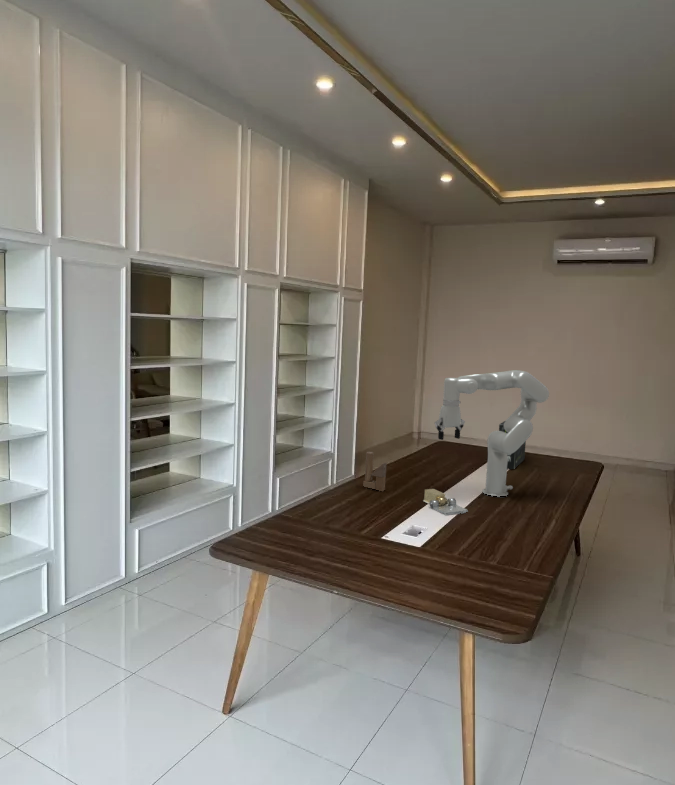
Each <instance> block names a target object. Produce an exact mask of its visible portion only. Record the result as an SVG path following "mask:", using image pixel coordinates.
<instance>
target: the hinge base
mask: <svg viewBox="0 0 675 785" xmlns="http://www.w3.org/2000/svg"><path fill="white" fill-rule="evenodd" d="M447 501H448V503H447V506H440V507H439V502H438V500H431V501H430V504H428V505H429V507H430V509H432V510H434V511H437V513H440V514H441V515H444V516H451V515H460V513H461V514H467V513H466V512H468V513H469V510H468V509H467V508H464V507H462V506H460V505H458V504H457V500H456V498H455V497H451V498H447Z"/></svg>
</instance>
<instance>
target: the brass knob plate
mask: <svg viewBox="0 0 675 785" xmlns="http://www.w3.org/2000/svg"><path fill="white" fill-rule="evenodd" d="M447 499H448V498H447V497H446V494H445V493H444V492H442V491H439V490H437V489H435V488H429V489H428V488H427V489H424V498H423V500H425V501H427V502H429V503H430V501H431V500H438V502H439V506H440V507H441V506H443V505H447V503H448V501H447ZM447 506H448V505H447Z"/></svg>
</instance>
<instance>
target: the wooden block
mask: <svg viewBox="0 0 675 785" xmlns="http://www.w3.org/2000/svg"><path fill="white" fill-rule="evenodd" d="M374 453H375V452H373V451H366V456H365V473H364V480H363V482H362V484H363V485H362V487H363V486H364V487H368V488H372V489H376V490H379V491H378V492H380V491H382V492H384V490H386V477H387V476H386V475H387V464H388V463H387V462H384V463H381V464H380V465H379V467H377V468H376V469H375V470H374V455H375V454H374ZM373 470H374V471H373ZM373 477H375V480H373ZM372 489H371V490H372ZM376 490H375V491H376Z"/></svg>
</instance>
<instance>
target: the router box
mask: <svg viewBox="0 0 675 785" xmlns="http://www.w3.org/2000/svg"><path fill="white" fill-rule="evenodd" d="M505 421H506V420H504V421H502V422H500V423H499V425H498V431H502V432H505V433H508V432H507V431H506V430H505V429H504V423H505ZM526 442H527V440H526V441H525V442H524V443H523V444H522V445H521V446H520V447H519V449H518V450H516V451H515V452H514V453H512V454H507V456H508V463H507V470H511V469H515V468H516V467H517V466H518V465H519V466H520V464H522V462H524V460H525V458H526V457H525V456H526V444H527V443H526ZM515 470H516V469H515Z"/></svg>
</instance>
